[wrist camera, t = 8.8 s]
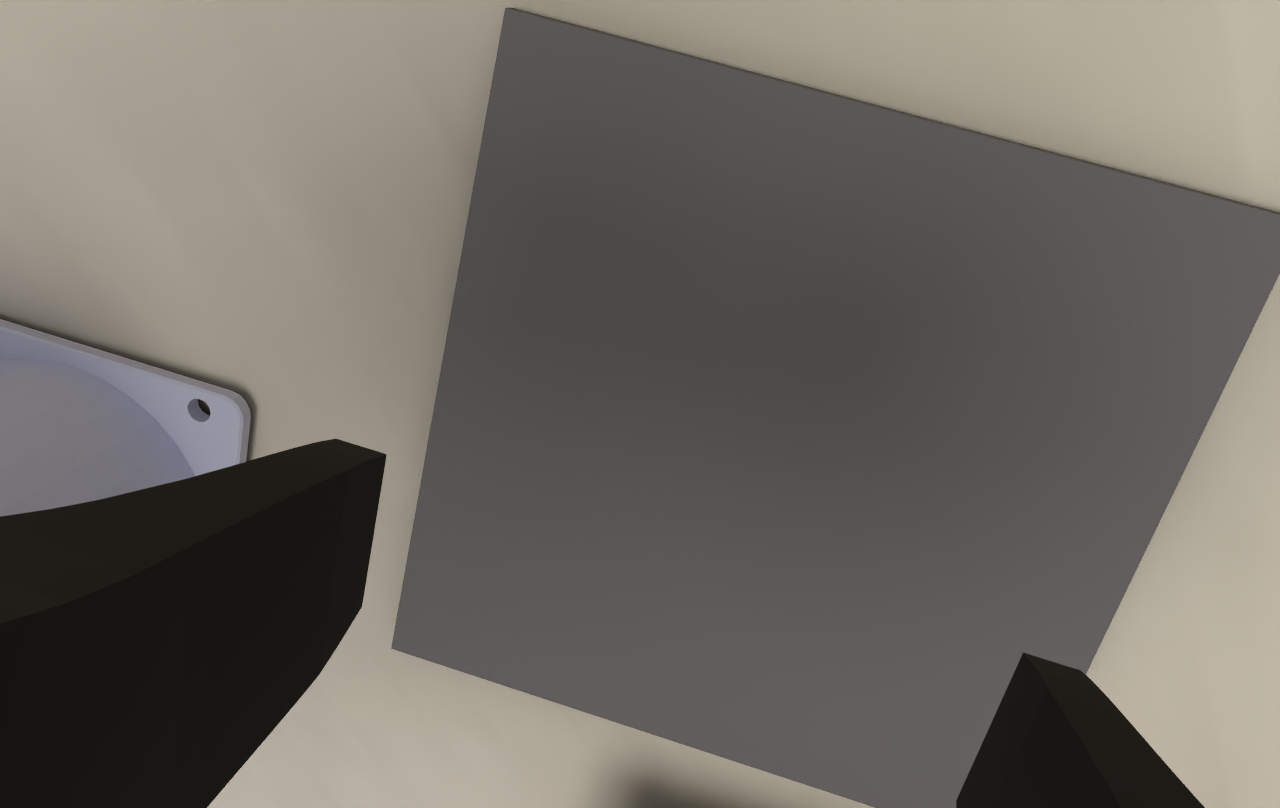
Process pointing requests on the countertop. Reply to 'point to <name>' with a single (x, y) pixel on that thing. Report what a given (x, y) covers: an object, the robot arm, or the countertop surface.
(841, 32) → the countertop surface
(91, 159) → the countertop surface
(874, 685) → the mat
